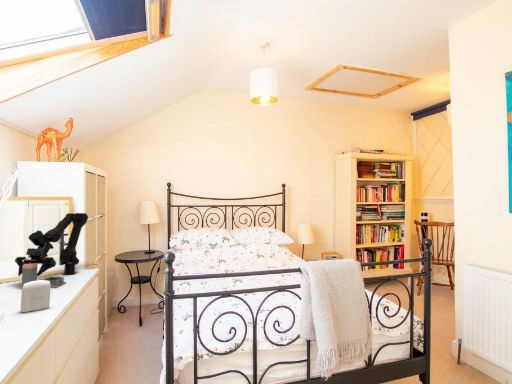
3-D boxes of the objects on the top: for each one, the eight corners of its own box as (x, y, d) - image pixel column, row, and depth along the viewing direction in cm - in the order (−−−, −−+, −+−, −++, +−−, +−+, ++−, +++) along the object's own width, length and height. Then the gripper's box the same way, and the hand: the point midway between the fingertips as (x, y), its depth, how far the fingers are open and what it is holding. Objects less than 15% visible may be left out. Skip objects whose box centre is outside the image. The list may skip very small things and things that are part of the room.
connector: (27, 287, 163) (28, 263, 163) (36, 287, 163) (37, 263, 164) (21, 289, 158) (22, 265, 159) (30, 289, 159) (32, 265, 159)
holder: (48, 283, 171) (49, 276, 171) (65, 283, 171) (66, 276, 171) (38, 288, 162) (39, 280, 162) (56, 288, 162) (57, 280, 163)
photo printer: (48, 305, 137) (49, 277, 137) (50, 308, 134) (51, 279, 134) (19, 310, 130) (21, 281, 130) (21, 313, 126) (22, 283, 127)
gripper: (18, 241, 165) (1, 266, 153) (54, 242, 166) (40, 267, 155) (26, 254, 172) (11, 278, 161) (61, 254, 174) (49, 279, 163)
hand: (28, 275), depth 160 cm, fingers open, 9 cm apart
